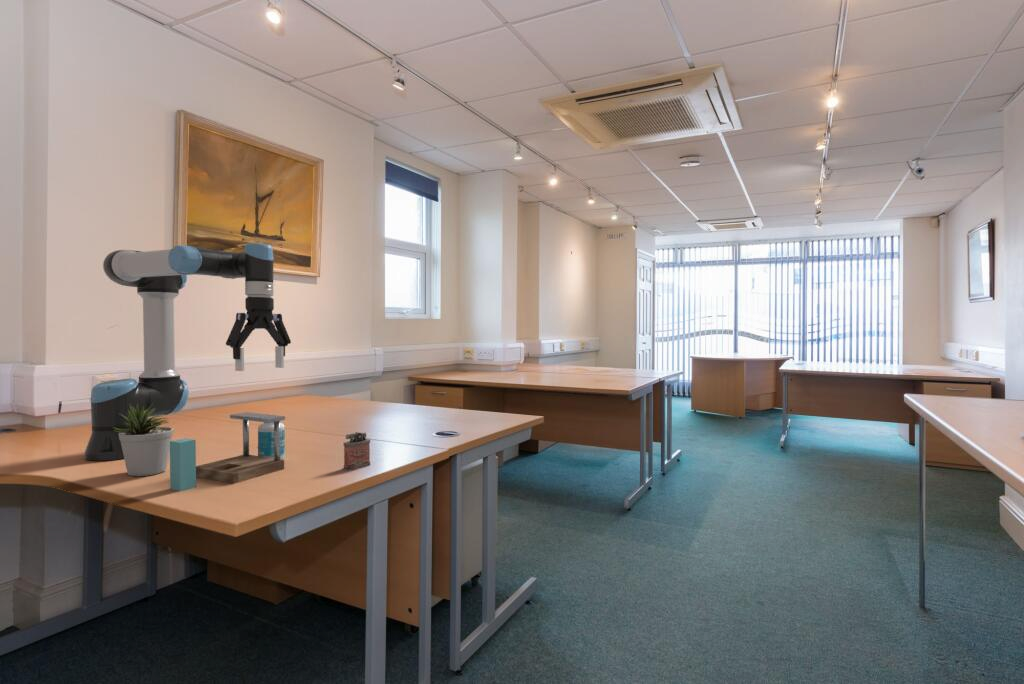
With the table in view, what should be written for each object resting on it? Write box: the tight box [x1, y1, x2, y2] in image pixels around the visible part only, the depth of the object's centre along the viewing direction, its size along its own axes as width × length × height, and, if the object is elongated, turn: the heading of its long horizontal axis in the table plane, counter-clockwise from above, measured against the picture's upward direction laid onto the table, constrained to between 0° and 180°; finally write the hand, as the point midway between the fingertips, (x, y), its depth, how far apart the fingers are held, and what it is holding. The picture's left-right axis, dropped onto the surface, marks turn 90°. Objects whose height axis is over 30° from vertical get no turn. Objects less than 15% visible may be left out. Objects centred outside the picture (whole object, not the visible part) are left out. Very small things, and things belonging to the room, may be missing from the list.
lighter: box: [343, 431, 371, 471], centre depth 155 cm, size 8×3×10 cm, turn 134°
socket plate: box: [196, 454, 285, 484], centre depth 149 cm, size 16×16×2 cm
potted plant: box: [113, 404, 174, 477], centre depth 148 cm, size 13×14×20 cm
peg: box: [169, 437, 197, 492], centre depth 134 cm, size 4×4×12 cm
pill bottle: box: [257, 422, 286, 460], centre depth 162 cm, size 8×7×14 cm
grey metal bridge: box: [229, 411, 286, 461], centre depth 154 cm, size 16×6×15 cm, turn 64°
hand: (260, 369), depth 158 cm, fingers open, 13 cm apart
